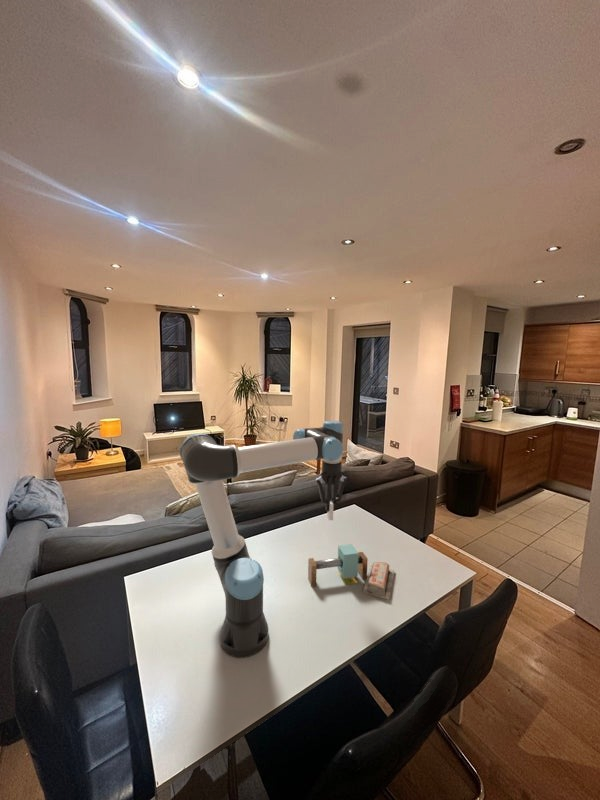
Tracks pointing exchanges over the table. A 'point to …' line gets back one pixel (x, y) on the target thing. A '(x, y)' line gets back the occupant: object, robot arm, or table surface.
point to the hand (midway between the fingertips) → (330, 518)
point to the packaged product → (379, 580)
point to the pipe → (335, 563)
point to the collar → (348, 561)
